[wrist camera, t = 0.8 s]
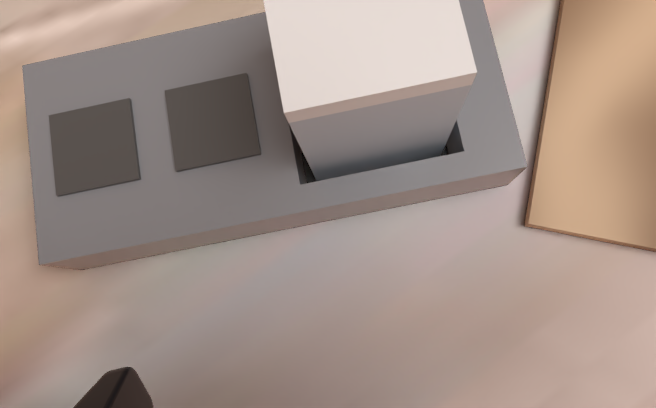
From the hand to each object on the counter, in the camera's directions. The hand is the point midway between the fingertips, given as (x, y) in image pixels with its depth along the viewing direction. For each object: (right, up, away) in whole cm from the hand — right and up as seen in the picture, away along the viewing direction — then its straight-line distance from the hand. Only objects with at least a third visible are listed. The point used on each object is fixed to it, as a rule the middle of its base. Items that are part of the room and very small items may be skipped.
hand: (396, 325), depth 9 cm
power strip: (-3, +5, +14) cm, 15 cm away
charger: (0, +6, +14) cm, 15 cm away
